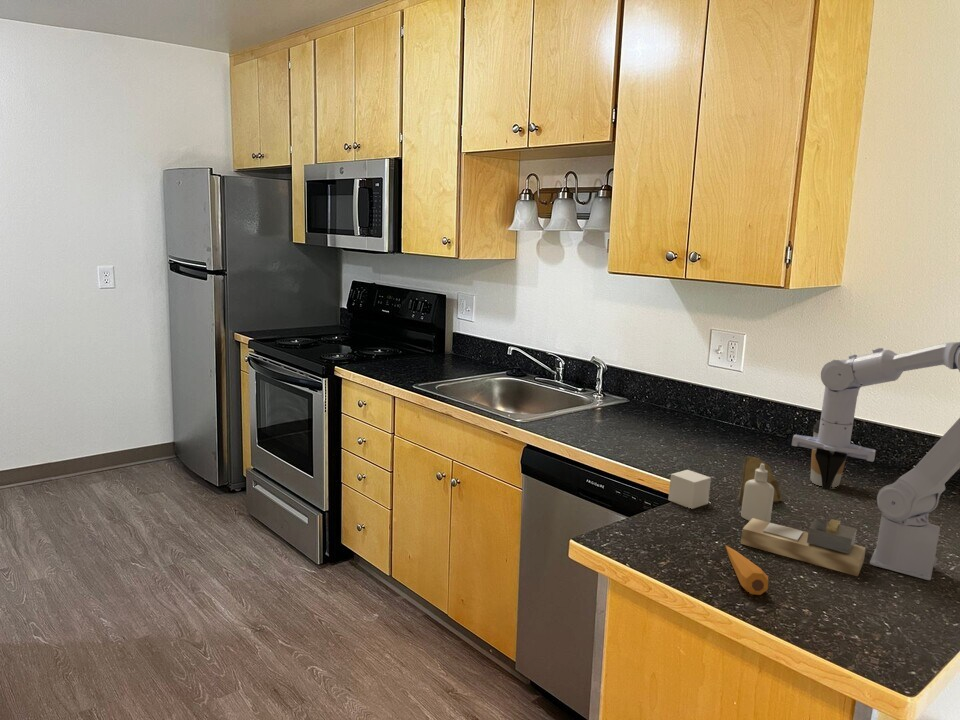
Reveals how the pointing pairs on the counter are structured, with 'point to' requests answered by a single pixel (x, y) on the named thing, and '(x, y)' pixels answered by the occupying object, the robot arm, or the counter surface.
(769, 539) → the body
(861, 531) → the counter surface
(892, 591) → the counter surface
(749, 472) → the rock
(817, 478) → the coffee cup
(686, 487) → the white cube
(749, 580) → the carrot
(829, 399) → the robot arm
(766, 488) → the eye dropper bottle
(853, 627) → the counter surface
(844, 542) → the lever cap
